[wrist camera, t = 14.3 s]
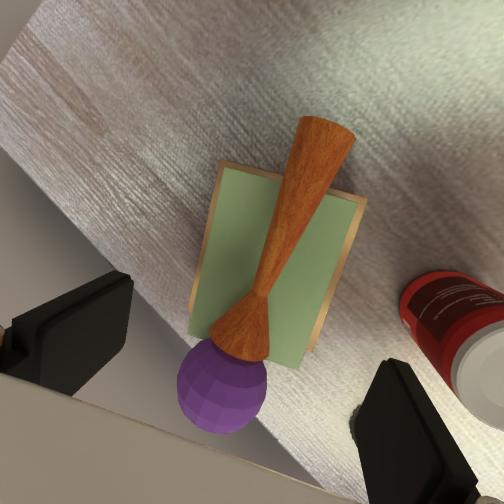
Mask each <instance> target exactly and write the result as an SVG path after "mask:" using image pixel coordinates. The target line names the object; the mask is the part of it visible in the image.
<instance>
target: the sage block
mask: <svg viewBox="0 0 504 504" xmlns="http://www.w3.org/2000/svg"><path fill="white" fill-rule="evenodd" d="M281 183H282V182H281V181H277V180H273V179H270V178H266V177H262V176H258V175H255V174H251V173H247V172H244V171H240V170H236V169H232V168H228V167H224V171H223V175H222V180H221V184H220V189H219V193H218V198H217V202H216V207H215V211H214V216H213V220H212V225H211V229H210V234H209V238H208V243H207V247H206V252H205V256H204V261H203V265H202V270H201V274H200V279H199V283H198V288H197V292H196V296H195V301H194V305H193V310H192V314H191V319H190V323H189V328H188V332H187V334H188V335H191V336H194V337H197V338H200V339H203V340H205V339H207V338H210V333H209V329H210V328H211V326H212V325H213V324H214V323H215V322H216V321H217V320H218V319H219V318H220V317H221V316H222V315H224V314H225V313H226V312H227V311H228V310H229V309H230V308H231V307H232V306H234V305H235V304H236V303H237V302H238V301H239V300H240V299H241V298H242V297H243V296H245V295H246V294H247V293H248V292H249V291H250V290H251V289H252V286H253V282H254V279H255V275H256V272H257V268H258V265H259V261H260V258H261V254H262V251H263V247H264V244H265V240H266V236H267V233H268V229H269V226H270V222H271V219H272V215H273V212H274V208H275V205H276V201H277V198H278V194H279V190H280V187H281ZM357 204H358V203H357V202H354V201H351V200H348V199H344V198H340V197H336V196H333V195H329V194H325V195H324V197H323V199H322V201H321V202H320V204H319V206H318V208H317V209H316V211H315V213H314V215H313V216H312V218H311V220H310V222H309V224H308V225H307V227H306V229H305V231H304V232H303V234H302V236H301V238H300V239H299V241H298V243H297V245H296V246H295V248H294V250H293V252H292V254H291V255H290V257H289V259H288V261H287V262H286V264H285V266H284V268H283V269H282V271H281V273H280V275H279V277H278V278H277V280H276V282H275V284H274V285H273V287H272V289H271V291H270V292H269V294H268V319H269V342H270V352H269V356H268V357H267V358H266V359H264V360H267V361H271V362H274V363H277V364H280V365H283V366H286V367H289V368H292V369H295V370H299V367H300V365H301V362H302V359H303V356H304V353H305V350H306V348H307V345H308V342H309V339H310V336H311V334H312V331H313V328H314V325H315V322H316V320H317V317H318V314H319V311H320V308H321V306H322V303H323V300H324V297H325V294H326V292H327V289H328V286H329V283H330V280H331V277H332V275H333V272H334V269H335V266H336V263H337V261H338V258H339V255H340V252H341V249H342V247H343V244H344V241H345V238H346V235H347V233H348V230H349V227H350V224H351V221H352V219H353V216H354V213H355V210H356V207H357Z"/></svg>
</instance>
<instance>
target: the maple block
mask: <svg viewBox="0 0 504 504" xmlns="http://www.w3.org/2000/svg"><path fill="white" fill-rule="evenodd" d="M224 167H228V168H232V169H236V170H240V171H244V172H247V173H251V174H255V175H258V176H262V177H266V178H270V179H273V180H277V181H281V182H282V180H283V176H284V175H280V174H276V173H273V172H269V171H265V170H261V169H258V168H254V167H250V166H246V165H243V164H239V163H235V162H231V161H228V160H224V159H220V163H219V168H218V173H217V177H216V182H215V186H214V191H213V196H212V200H211V205H210V209H209V214H208V218H207V223H206V228H205V232H204V237H203V241H202V246H201V251H200V255H199V260H198V264H197V269H196V274H195V278H194V283H193V287H192V292H191V297H190V301H189V306H188V310H187V312H189V313H192V310H193V305H194V301H195V296H196V292H197V288H198V283H199V279H200V274H201V270H202V265H203V261H204V256H205V252H206V247H207V243H208V238H209V234H210V229H211V225H212V220H213V216H214V211H215V207H216V202H217V198H218V193H219V189H220V184H221V180H222V175H223V171H224ZM325 194H329V195H333V196H336V197H340V198H344V199H348V200H351V201H354V202H357V203H358V204H357V207H356V210H355V213H354V216H353V219H352V221H351V224H350V227H349V230H348V233H347V235H346V238H345V241H344V244H343V247H342V249H341V252H340V255H339V258H338V261H337V263H336V266H335V269H334V272H333V275H332V277H331V280H330V283H329V286H328V289H327V292H326V294H325V297H324V300H323V303H322V306H321V308H320V311H319V314H318V317H317V320H316V322H315V325H314V328H313V331H312V334H311V336H310V339H309V342H308V345H307V348H306V350H308V351H311V352H313V350H314V348H315V345H316V342H317V339H318V337H319V334H320V331H321V328H322V326H323V323H324V320H325V317H326V315H327V312H328V309H329V306H330V304H331V301H332V298H333V295H334V293H335V290H336V287H337V284H338V282H339V279H340V276H341V273H342V271H343V268H344V265H345V263H346V260H347V257H348V254H349V252H350V249H351V246H352V243H353V241H354V238H355V235H356V232H357V230H358V227H359V224H360V221H361V219H362V216H363V213H364V210H365V208H366V205H367V202H368V198H366V197H362V196H359V195H355V194H351V193H348V192H344V191H340V190H336V189H333V188H328V190H327V192H326V193H325Z"/></svg>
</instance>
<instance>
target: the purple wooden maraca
mask: <svg viewBox="0 0 504 504" xmlns="http://www.w3.org/2000/svg"><path fill="white" fill-rule="evenodd" d="M355 140H356V138H355V135H354V134H353V133H352V132H350V131H349V130H348V129H346V128H344V127H343V126H341V125H339V124H337V123H334V122H331V121H329V120H326V119H322V118H318V117H313V116H304V117H301V118H300V120H299V123H298V127H297V130H296V134H295V137H294V141H293V144H292V148H291V152H290V155H289V159H288V162H287V166H286V169H285V173H284V176H283V180H282V183H281V187H280V190H279V194H278V198H277V201H276V205H275V208H274V212H273V215H272V219H271V222H270V226H269V229H268V233H267V236H266V240H265V244H264V247H263V251H262V254H261V258H260V261H259V265H258V268H257V272H256V275H255V279H254V282H253V286H252V289H251V290H250V291H249V292H248V293H247V294H246V295H245V296H243V297H242V298H241V299H240V300H239V301H238V302H237V303H236V304H235V305H234V306H232V307H231V308H230V309H229V310H228V311H227V312H226V313H225V314H224V315H222V316H221V317H220V318H219V319H218V320H217V321H216V322H215V323H214V324H213V325H212V326H211V328H210V329H209V333H210V338H207V339H205V340H202V341H200V342H199V343H198V344H197V345H196V346H195V347H194V348H193V349H192V350H191V351H190V352H189V353H188V354H187V356H186V357H185V358H184V360H183V362H182V364H181V367H180V370H179V373H178V375H177V393H178V401H179V404H180V406H181V409H182V411H183V413H184V415H185V416H186V417H187V418H188V419H190V420H191V421H192V422H193V423H194V424H195V425H196V426H197V427H198V428H201V429H203V430H205V431H207V432H211V433H221V434H228V433H231V432H234V431H237V430H239V429H241V428H242V427H244V426H245V425H246V424H248V423H249V422H250V421H251V420H252V419H253V418H254V417H255V416H256V415H257V414H258V412H259V410H260V408H261V406H262V404H263V402H264V399H265V396H266V389H267V371H266V368H265V366H264V363H263V360H264V359H266V358H267V357H268V356H269V352H270V342H269V319H268V294H269V292H270V291H271V289H272V287H273V285H274V284H275V282H276V280H277V278H278V277H279V275H280V273H281V271H282V269H283V268H284V266H285V264H286V262H287V261H288V259H289V257H290V255H291V254H292V252H293V250H294V248H295V246H296V245H297V243H298V241H299V239H300V238H301V236H302V234H303V232H304V231H305V229H306V227H307V225H308V224H309V222H310V220H311V218H312V216H313V215H314V213H315V211H316V209H317V208H318V206H319V204H320V202H321V201H322V199H323V197H324V195H325V193H326V192H327V190H328V188H329V186H330V185H331V183H332V181H333V179H334V178H335V176H336V174H337V172H338V170H339V169H340V167H341V165H342V163H343V162H344V160H345V158H346V156H347V155H348V153H349V151H350V149H351V147H352V146H353V144H354V142H355Z"/></svg>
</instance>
